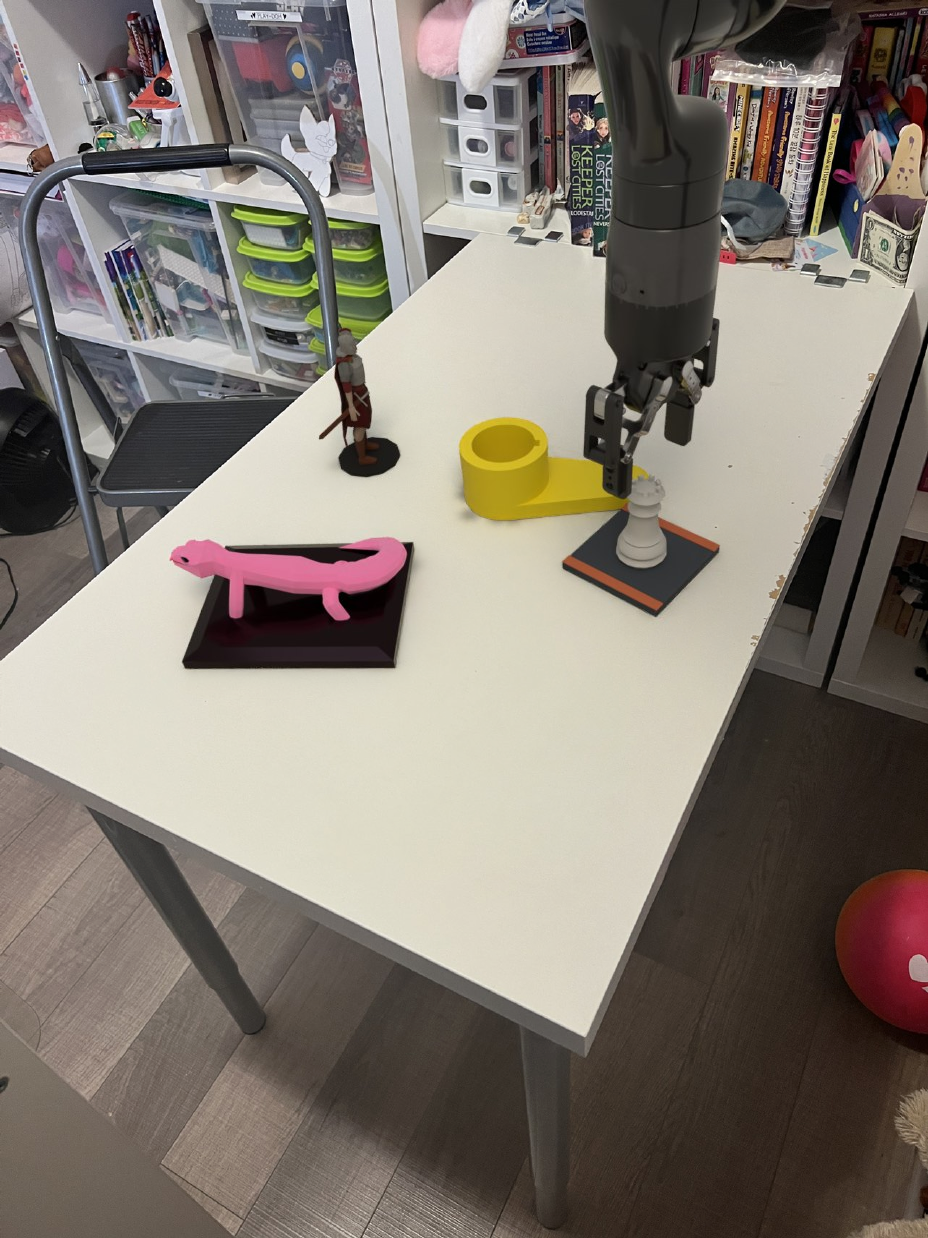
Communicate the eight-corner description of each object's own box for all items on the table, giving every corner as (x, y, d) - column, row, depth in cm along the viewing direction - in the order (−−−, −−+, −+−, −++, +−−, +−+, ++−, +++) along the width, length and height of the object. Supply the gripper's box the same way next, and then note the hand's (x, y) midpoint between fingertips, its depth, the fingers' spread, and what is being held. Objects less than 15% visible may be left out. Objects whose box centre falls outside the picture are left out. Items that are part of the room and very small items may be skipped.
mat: (719, 552, 79) (720, 544, 79) (655, 617, 75) (656, 610, 74) (626, 509, 85) (627, 502, 84) (562, 568, 80) (562, 561, 79)
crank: (460, 520, 86) (453, 470, 81) (469, 466, 91) (464, 417, 87) (649, 521, 83) (653, 470, 79) (647, 465, 89) (650, 415, 84)
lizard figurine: (213, 552, 86) (189, 493, 81) (416, 548, 84) (405, 487, 78) (168, 668, 76) (138, 610, 71) (397, 668, 74) (383, 607, 68)
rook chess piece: (605, 557, 79) (607, 487, 73) (635, 530, 81) (639, 460, 75) (647, 579, 77) (652, 508, 71) (676, 551, 79) (684, 479, 73)
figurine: (398, 475, 91) (373, 344, 81) (329, 479, 92) (295, 350, 81) (402, 436, 96) (380, 307, 85) (336, 441, 97) (306, 313, 86)
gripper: (647, 335, 55) (636, 531, 67) (764, 246, 62) (735, 439, 73) (552, 304, 59) (557, 495, 71) (672, 223, 65) (658, 410, 77)
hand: (648, 466), depth 72 cm, fingers open, 8 cm apart
